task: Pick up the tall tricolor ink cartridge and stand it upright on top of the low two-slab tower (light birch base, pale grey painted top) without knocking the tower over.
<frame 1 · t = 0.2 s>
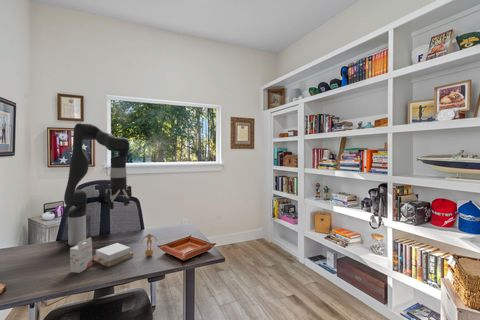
hand: (118, 207, 129), 29 cm above the table, tool pointing down, fingers open, 8 cm apart
figurine: (149, 255, 138), on the table
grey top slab: (113, 254, 134), point 2 cm above the table, touching birch base slab
birch base slab: (113, 259, 134), on the table, touching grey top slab
ink cartridge box: (81, 269, 122), on the table
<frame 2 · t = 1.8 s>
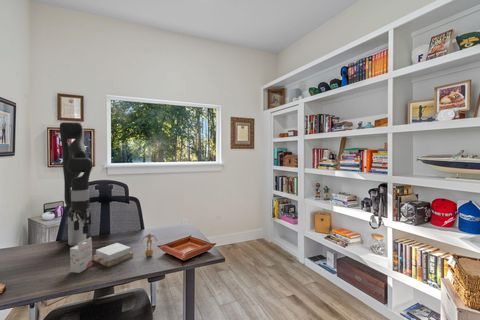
hand: (80, 231, 121), 18 cm above the table, tool pointing down, fingers open, 8 cm apart
nothing on the table moved.
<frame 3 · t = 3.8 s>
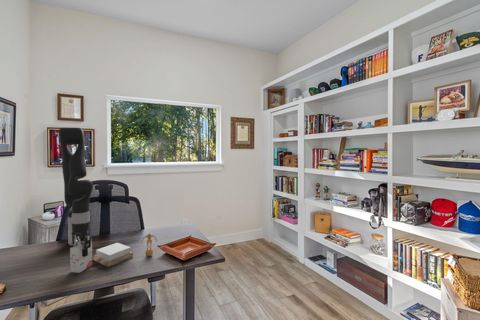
hand: (81, 254, 122), 7 cm above the table, tool pointing down, fingers closed on ink cartridge box, 6 cm apart
ink cartridge box: (81, 268, 122), on the table, touching gripper
everything else where it was.
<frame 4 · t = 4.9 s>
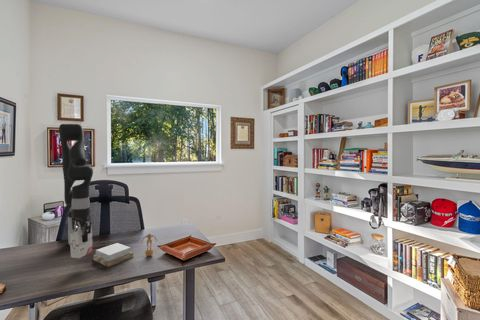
hand: (81, 240, 122), 14 cm above the table, tool pointing down, fingers closed on ink cartridge box, 6 cm apart
ink cartridge box: (81, 254, 122), point 7 cm above the table, touching gripper
everything else where it was.
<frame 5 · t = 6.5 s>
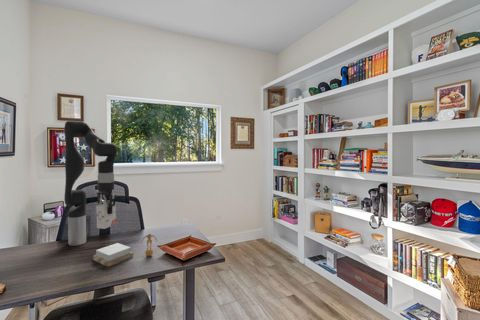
hand: (106, 212, 130), 25 cm above the table, tool pointing down, fingers closed on ink cartridge box, 6 cm apart
ink cartridge box: (106, 226, 130), point 18 cm above the table, touching gripper
everything else where it was.
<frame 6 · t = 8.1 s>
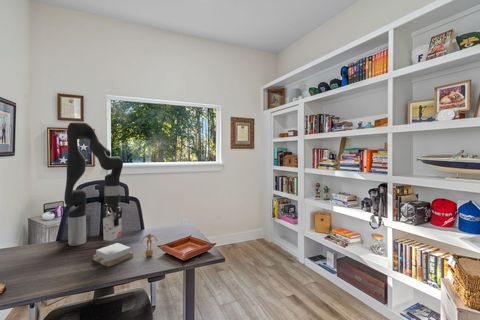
hand: (112, 224, 133), 18 cm above the table, tool pointing down, fingers closed on ink cartridge box, 6 cm apart
ink cartridge box: (112, 238, 133), point 11 cm above the table, touching gripper
everything else where it was.
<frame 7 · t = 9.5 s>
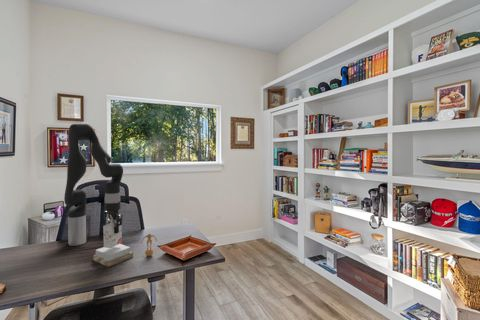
hand: (112, 231, 133), 14 cm above the table, tool pointing down, fingers closed on ink cartridge box, 6 cm apart
ink cartridge box: (112, 245, 134), point 7 cm above the table, touching gripper
everything else where it was.
when the fingers open (14 cm above the table, at t = 9.8 s): ink cartridge box drops 2 cm, point 5 cm above the table.
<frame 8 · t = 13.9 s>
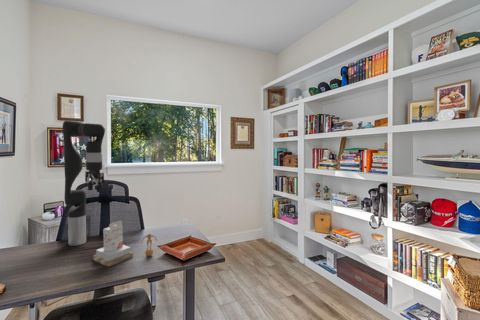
hand: (94, 191, 134), 36 cm above the table, tool pointing down, fingers open, 8 cm apart
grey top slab: (113, 253, 134), point 2 cm above the table
birch base slab: (113, 259, 134), on the table
ink cartridge box: (113, 248, 134), point 5 cm above the table
everything else where it was.
at the end: ink cartridge box inside the target area on the birch base slab (0.0 cm from its centre), point 5.9 cm above the birch base slab's base; ink cartridge box tilted 1°; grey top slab moved 0.8 cm from its start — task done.
